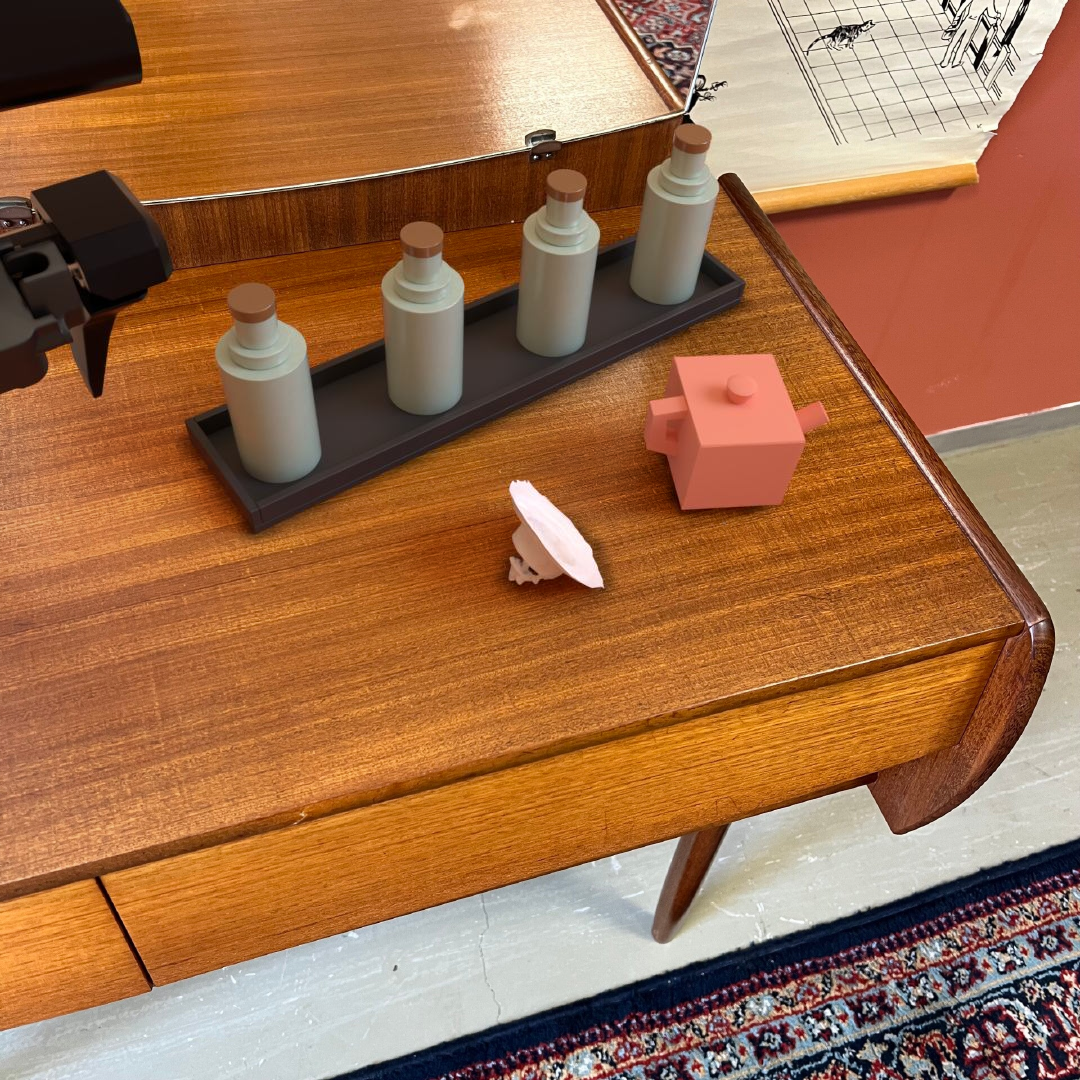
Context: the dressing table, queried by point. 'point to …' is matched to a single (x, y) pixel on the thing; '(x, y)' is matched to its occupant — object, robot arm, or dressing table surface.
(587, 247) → the bottle middle
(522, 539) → the pale pink ornate lid
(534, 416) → the dressing table surface
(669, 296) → the bottle far
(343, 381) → the tray
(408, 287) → the bottle near
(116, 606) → the dressing table surface
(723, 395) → the pink cube teapot
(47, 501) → the dressing table surface
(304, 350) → the bottle
